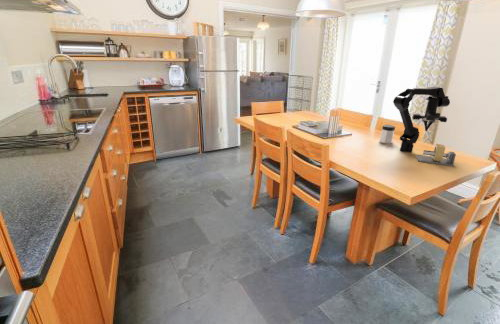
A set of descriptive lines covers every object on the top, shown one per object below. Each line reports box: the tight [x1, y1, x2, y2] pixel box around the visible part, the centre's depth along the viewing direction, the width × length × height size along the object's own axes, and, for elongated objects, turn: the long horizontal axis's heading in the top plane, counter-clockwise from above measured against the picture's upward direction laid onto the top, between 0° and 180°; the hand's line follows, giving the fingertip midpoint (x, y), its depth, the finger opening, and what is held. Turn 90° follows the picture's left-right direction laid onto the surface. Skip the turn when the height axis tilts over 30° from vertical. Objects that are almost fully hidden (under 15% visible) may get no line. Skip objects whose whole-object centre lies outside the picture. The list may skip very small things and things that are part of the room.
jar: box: [379, 124, 396, 144], centre depth 200 cm, size 9×8×12 cm
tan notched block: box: [431, 143, 446, 161], centre depth 163 cm, size 4×6×8 cm, turn 155°
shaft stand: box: [416, 149, 457, 167], centre depth 164 cm, size 18×10×6 cm, turn 65°
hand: (425, 130), depth 182 cm, fingers closed
